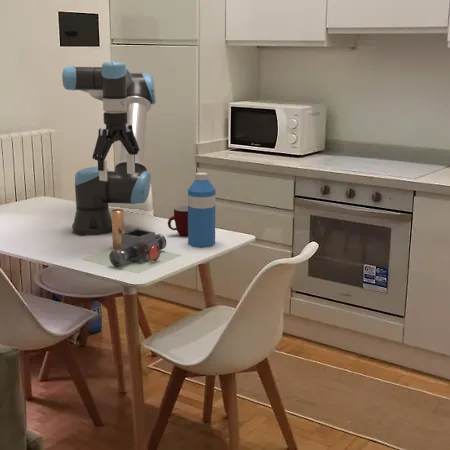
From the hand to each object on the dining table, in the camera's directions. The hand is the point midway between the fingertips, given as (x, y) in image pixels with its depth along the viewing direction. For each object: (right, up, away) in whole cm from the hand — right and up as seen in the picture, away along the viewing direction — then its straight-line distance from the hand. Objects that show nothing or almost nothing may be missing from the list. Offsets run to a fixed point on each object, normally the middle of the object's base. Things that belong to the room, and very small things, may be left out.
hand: (117, 177), depth 225 cm
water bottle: (+27, -23, +12) cm, 37 cm away
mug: (+20, -20, +22) cm, 36 cm away
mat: (+5, -26, -3) cm, 27 cm away
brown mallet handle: (0, -23, +6) cm, 24 cm away
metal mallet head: (+9, -27, -5) cm, 29 cm away
